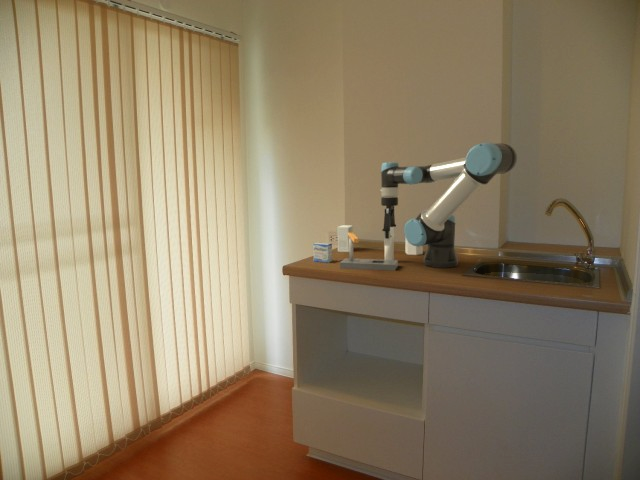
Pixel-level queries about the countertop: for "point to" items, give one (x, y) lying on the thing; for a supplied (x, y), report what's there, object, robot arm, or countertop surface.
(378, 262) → the grey post stand
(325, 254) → the medicine box
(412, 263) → the countertop surface
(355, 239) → the bar
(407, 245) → the jar
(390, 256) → the plug
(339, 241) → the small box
